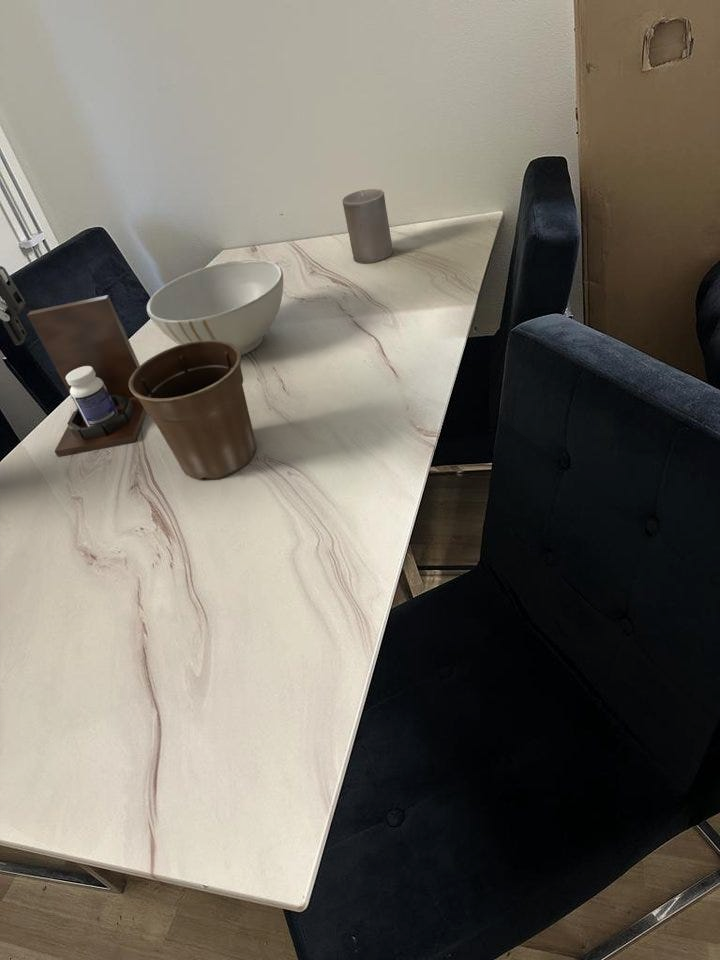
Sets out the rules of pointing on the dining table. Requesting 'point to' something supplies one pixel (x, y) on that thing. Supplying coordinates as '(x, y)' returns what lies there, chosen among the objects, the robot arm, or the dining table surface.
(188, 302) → the decorative bowl
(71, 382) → the pill bottle
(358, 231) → the pillar candle
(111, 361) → the stand
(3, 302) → the robot arm
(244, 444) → the plant pot
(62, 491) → the dining table surface
